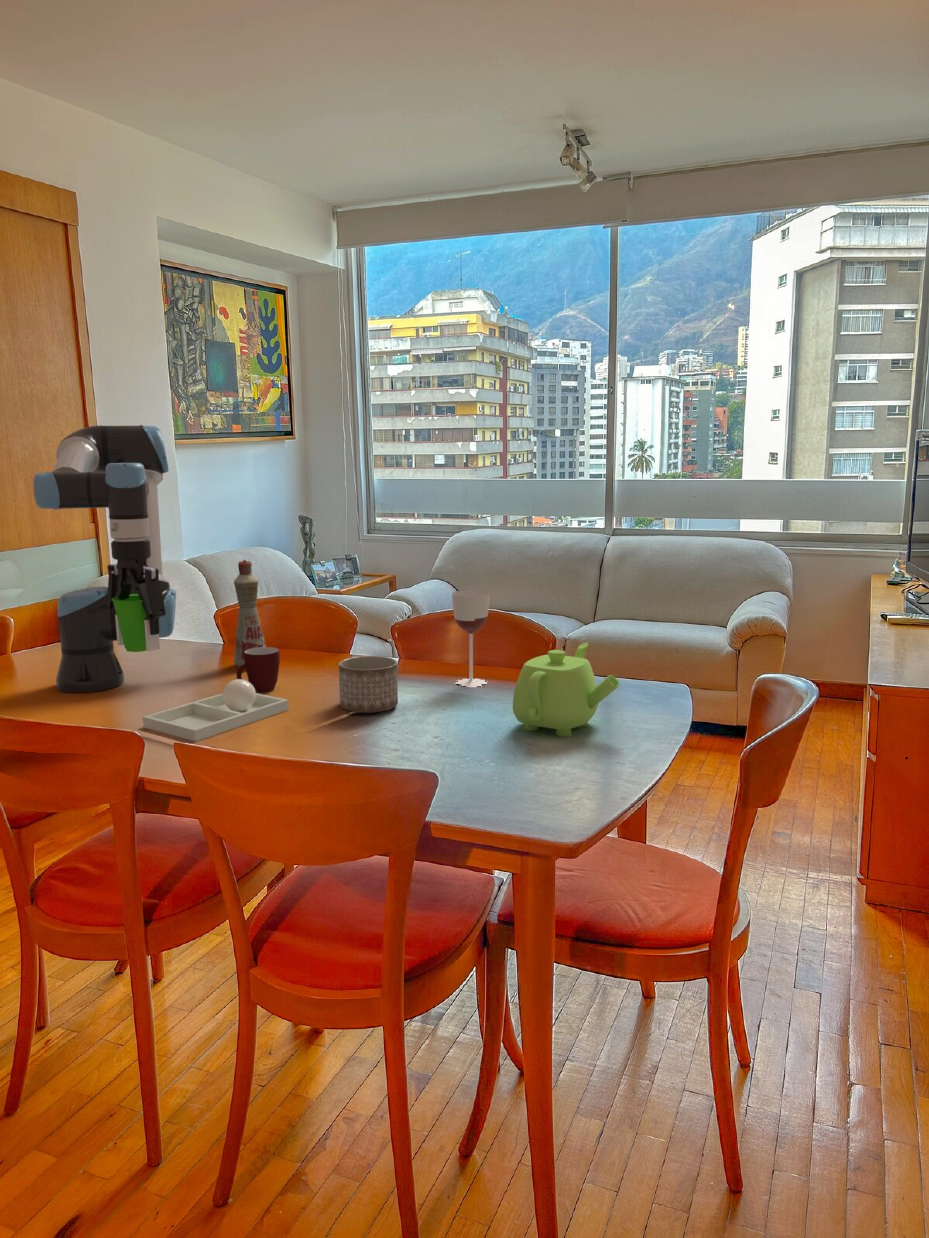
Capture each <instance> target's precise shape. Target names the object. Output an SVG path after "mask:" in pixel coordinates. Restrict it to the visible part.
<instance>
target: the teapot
mask: <svg viewBox="0 0 929 1238" xmlns="http://www.w3.org/2000/svg"><path fill="white" fill-rule="evenodd" d="M588 647H589V643H588V642H582V643H581V644H579V646H578V647H577V649H576V651H575V653H574V656H570V655H566V653H567V652H566V651H564V650H561V649H553V650H552V649H551V650H549V651H547V654H544V655H539V656H536V657H534V658H531V659H529V660H527V661H526V662H525V663H524V664H523V666H522V668H521V671H520V673H519V676H518V679H517V681H516V684H515V688H514V692H513V696H512V697H513V699H512V711H513V714H514V716H515V719H516V720H517V721H518V722H519V723H522V724H524V725H523V726H522V728H521V729H522V730H524V731H529V732H530V731H531V732H532V731H533V732H534V731H536V730H537V731H538V729H539V727H541V728H544V729H552V730H553V729H554V730H556V732H555V733H556V736H557V737H560V738H569V737H570V738H571V737H572V736H573V732H572V729H574V728H578V727H580V728H582V727H583V728H585V727H588V726H589V723H588V722H589V721H590V720H591V719H593V716H595V713H596V711H598V708H599V703H601V702H602V701H603V700H604V699H605V698H607V697H608V696H609V695H610V694H611V693H612V692H614V691H615V690H617V689H618V688H619V687H620V682H619V680H618V679H617V678H616V677H615V676H613V675H610V674H609V675H608V676H606V677H605V678H604V679H603V680H602V681H601V682H599V684H598V685H597V681H596V677H595V674H594V672H593V668H592V665H591V662H590V661H589V660H588V659H587V658H586V652H587V649H588Z"/></svg>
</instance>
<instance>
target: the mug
mask: <svg viewBox="0 0 929 1238" xmlns="http://www.w3.org/2000/svg"><path fill="white" fill-rule="evenodd" d="M280 655H281V653H280V649H279V648H277V647H272V646H271V647H270V646H266V647H258V648H251V649H247V650H245V651H244V663H245V664H243V665H241V666H240V667H239V668H237V670H236V671H237V672H236V679H243V677H242V675H243V672H244V670H245V671H246V675H247V679H248V680H247V681H248V682H250V683H251V684H252V685H253V687H254V688H255V691H256V693H266V692H271V691H273V690H275V688H276V685H277V682H278V679H279V678H278V677H279V669H280V664H281V658H280V657H281V656H280Z"/></svg>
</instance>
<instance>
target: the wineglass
mask: <svg viewBox="0 0 929 1238" xmlns="http://www.w3.org/2000/svg"><path fill="white" fill-rule="evenodd" d="M451 595H452V596H451V598H452V599H451V601H452V611H453V616H454V620H455V623H456V624H457V626H458V627H459V628H460V629H461V630H463V631H465V632H466V633H468V635H469V637H468V641H469V642H468V643H469V644H468V645H469V646H468V651H469V652H468V653H469V658H468V659H469V661H468V662H469V663H468V664H469V666H468V667H469V670H468V671H469V673H468V674H469V679H467V678H461V679H462V680H460V679H457V680H458V682H456V683H454V682H453V684H454V685H455V684H461V685H462V686H466V687H465V688H478V687H477V686H481V687H483V686H482V685H481V684H487V682H488V681H487V682H485V680H486V679H482V678H475V679H473V678H474V673H473V672H474V652H473V651H474V648H473V647H474V643H473V642H474V633H475V632H476V631H478V630H480V629H481V628H482V627H483V626H484V625H485V624H486V623H487V619H488V615H489V609H490V592H489V591H487V590H479V589H475V590H474V589H469V590H468V589H467V590H457V591H454V592H452V594H451ZM481 679H482V680H481ZM487 685H488V684H487Z"/></svg>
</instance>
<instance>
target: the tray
mask: <svg viewBox="0 0 929 1238" xmlns="http://www.w3.org/2000/svg"><path fill="white" fill-rule="evenodd" d="M222 694H223V692H222V693H218V694H216V695H212V696H209V697H208V696H207V697H205V698H202V699H198V700H195V701H191V702H188V703H185V704H182V705H181V704H180V705H178V706H175V707H172V708H168V709H164V710H161V711H157V712H155V713H151V714H148V715H144V716H142V724H143V725H142V727H143V728H144V729H148V730H151V731H156V732H159V733H163V734H166V735H170V736H174V737H177V738H181V739H185V740H188V741H193V742H196V743H197V742H199V741H202V740H205V739H208V738H210V737H213V736H216V735H219V734H222V733H225V732H229V731H231V730H235V729H238V728H240V727H243V726H246V725H248V724H251V723H254V722H257V721H260V720H261V721H262V720H264V719H266V718H269V717H273V716H276V715H278V714H281V713H284V712H287V711H289V710H290V709H289V708H290V707H289V699H285V698H281V697H276V696H271V695H267V694H263V693H259V692H256V699H255V702H254V704H253V705H252V706H251V707H250V708H249V709H248V710H246V711H243V712H236V711H232V710H230V709H229V708H228V707H226V705H225V704H224V702H223V698H222Z"/></svg>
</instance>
